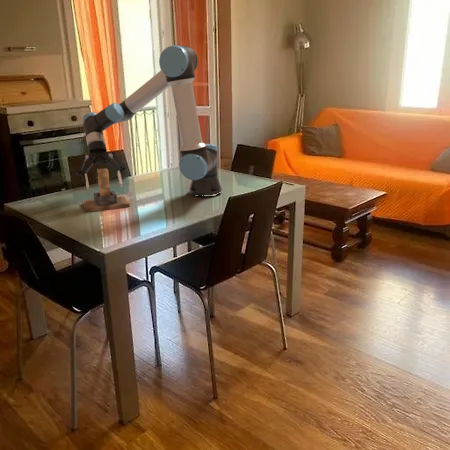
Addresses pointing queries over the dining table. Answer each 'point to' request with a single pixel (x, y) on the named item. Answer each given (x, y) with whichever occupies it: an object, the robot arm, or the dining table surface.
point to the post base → (105, 202)
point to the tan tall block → (103, 182)
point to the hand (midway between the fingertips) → (105, 187)
